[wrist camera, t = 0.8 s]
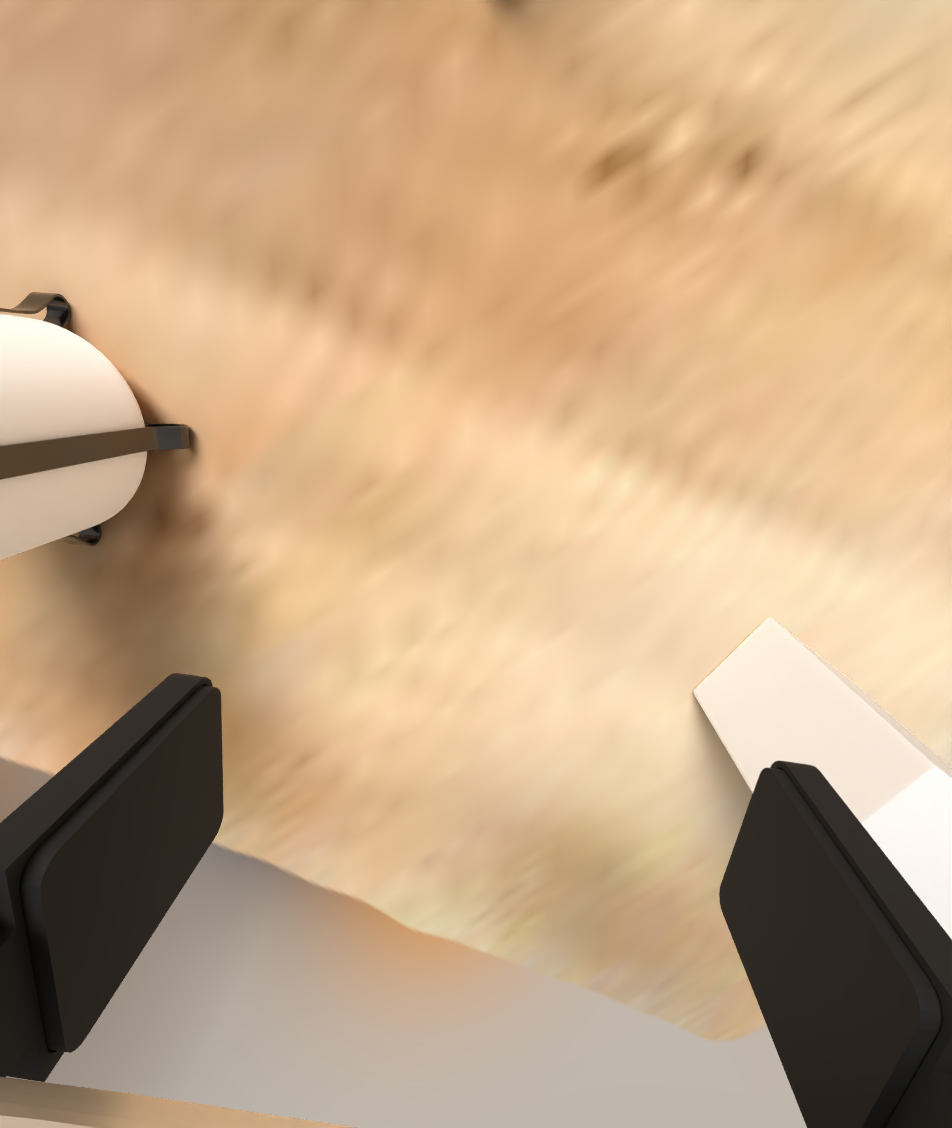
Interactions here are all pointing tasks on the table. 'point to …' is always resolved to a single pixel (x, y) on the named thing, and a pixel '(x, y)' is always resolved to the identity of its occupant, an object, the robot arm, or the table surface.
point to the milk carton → (837, 751)
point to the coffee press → (65, 432)
